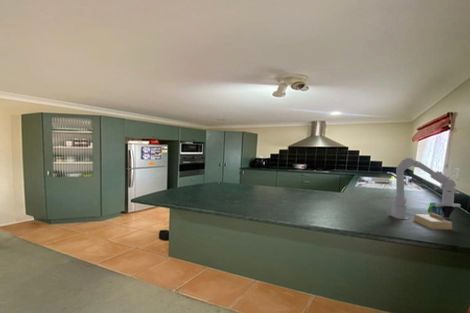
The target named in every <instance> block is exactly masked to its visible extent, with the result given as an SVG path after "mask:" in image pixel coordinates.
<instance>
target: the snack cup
mask: <svg viewBox="0 0 470 313" xmlns="http://www.w3.org/2000/svg"><path fill="white" fill-rule="evenodd" d="M435 203H436V202H430V203H429V206H428V207H427V208H428V209H427V212H428V214H430V213H434V214H437V215H439V216H442V217H444V213H443V211H442V209H441V207H440V206H439V207H437V206H435ZM444 219H445V220H446V217H444Z"/></svg>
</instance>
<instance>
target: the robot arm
mask: <svg viewBox="0 0 470 313" xmlns="http://www.w3.org/2000/svg"><path fill="white" fill-rule="evenodd" d="M411 167H414V168H418V169H420V170H422V171H424V172H426V173H427V174H428V175H430V179H432V180H434V181H436V182H438V183H439V184H440V185H443V187H442V188H443V189H442V194H441V195H442V196H441V202H434V203H435V206H437V207H439V206H440V207H441V209H442V211H443V213H444V217H445V219H446V218H447V219H449V218H450V216H451V214H452V213H453V211H454V210H455V208H461V204H460V203H454V201H455V187H457V184H456V182H455V181H454V180H453V179H452V178H450V176H447V175H445V174H444V173H443V172H442V171H438V170H433V169H431V168H430V167H429V166H427V165H425V164H424V163H422V162H421V161H418V160H416V159H414V158H412V157H406V158H404V159H402V160H401V162H400V163H399V164H398V165H397V167H396V168H395V174H396V175H395V176H396V180H395V181H396V197H395V198H394V203H393V204H391V207H390V214H389V215H390V217H393V218H395V219H398V220H399V219H400V220H409V218H408V217H407V216H406V215H407V199H406V197H405V175H404V174H405V171H406V170H407V169H408V168H411Z"/></svg>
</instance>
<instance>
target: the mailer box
mask: <svg viewBox="0 0 470 313" xmlns="http://www.w3.org/2000/svg"><path fill="white" fill-rule="evenodd" d="M413 221H414V222H416V223H418V224H420V225H423V226H425V227H426V228H427V227H428V228H429V229H432V230H453V222H452V223H436V222H430V221H428V220H425V219H423V218H421V217H418V216H416V215H414V214H413Z"/></svg>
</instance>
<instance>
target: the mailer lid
mask: <svg viewBox="0 0 470 313" xmlns="http://www.w3.org/2000/svg"><path fill="white" fill-rule="evenodd" d="M414 215H416V216H418V217H421V218H423V219H425V220H428V221H430V222H436V223H452V224H453V221H451V220H447V219H446V218H445V219H444V217H442V216H439V215H437V214H434V213H428V214H427V213H425V214H423V213H422V214H421V213H413V216H414Z"/></svg>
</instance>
